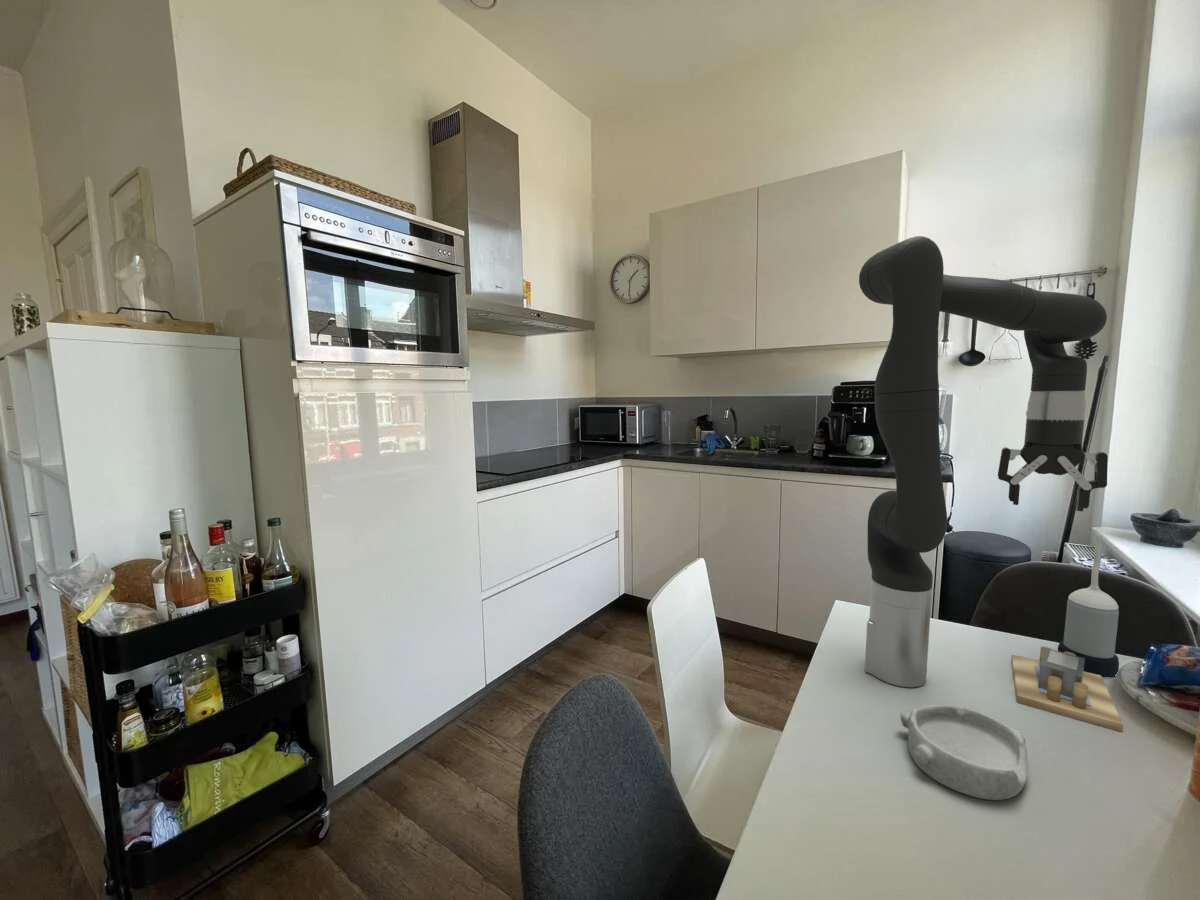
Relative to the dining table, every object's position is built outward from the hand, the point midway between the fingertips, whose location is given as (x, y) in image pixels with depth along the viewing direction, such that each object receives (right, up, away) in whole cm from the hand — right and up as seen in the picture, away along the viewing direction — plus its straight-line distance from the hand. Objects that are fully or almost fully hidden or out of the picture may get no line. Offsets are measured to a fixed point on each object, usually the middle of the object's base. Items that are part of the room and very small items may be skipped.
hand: (1046, 507), depth 88 cm
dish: (-31, -33, -21) cm, 50 cm away
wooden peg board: (-2, -31, -5) cm, 31 cm away
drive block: (-2, -29, -5) cm, 30 cm away
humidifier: (+10, -30, +3) cm, 32 cm away
